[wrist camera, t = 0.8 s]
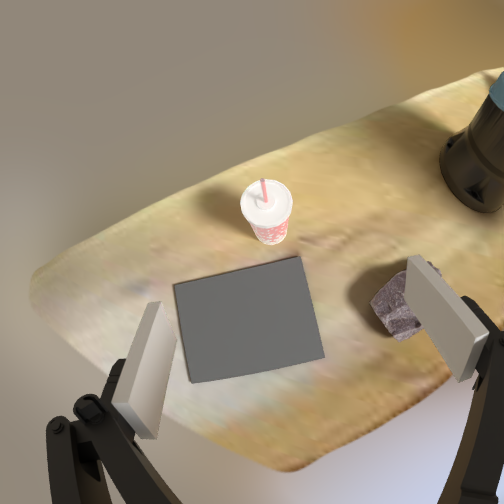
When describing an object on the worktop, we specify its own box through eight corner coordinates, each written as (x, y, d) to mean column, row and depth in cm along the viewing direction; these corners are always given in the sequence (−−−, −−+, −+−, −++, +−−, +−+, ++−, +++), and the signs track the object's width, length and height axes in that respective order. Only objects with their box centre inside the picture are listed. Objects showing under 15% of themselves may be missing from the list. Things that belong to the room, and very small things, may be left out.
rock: (448, 297, 39) (462, 291, 34) (394, 349, 38) (405, 349, 34) (416, 255, 41) (427, 245, 37) (360, 304, 40) (367, 299, 36)
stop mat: (300, 257, 43) (300, 256, 42) (324, 357, 39) (325, 357, 38) (175, 286, 44) (174, 285, 43) (192, 383, 40) (191, 383, 39)
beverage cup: (293, 249, 44) (293, 206, 30) (249, 250, 44) (231, 208, 31) (291, 209, 45) (290, 154, 32) (249, 210, 46) (233, 157, 33)
